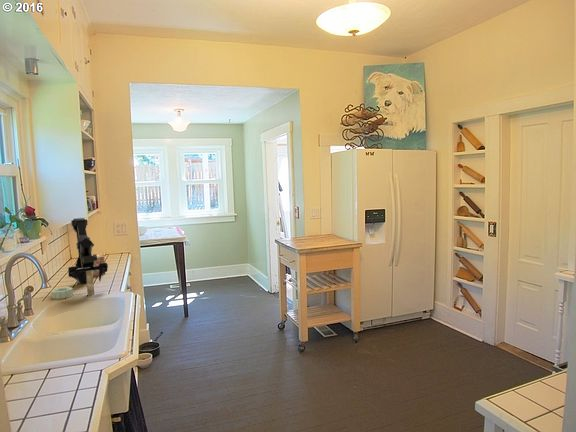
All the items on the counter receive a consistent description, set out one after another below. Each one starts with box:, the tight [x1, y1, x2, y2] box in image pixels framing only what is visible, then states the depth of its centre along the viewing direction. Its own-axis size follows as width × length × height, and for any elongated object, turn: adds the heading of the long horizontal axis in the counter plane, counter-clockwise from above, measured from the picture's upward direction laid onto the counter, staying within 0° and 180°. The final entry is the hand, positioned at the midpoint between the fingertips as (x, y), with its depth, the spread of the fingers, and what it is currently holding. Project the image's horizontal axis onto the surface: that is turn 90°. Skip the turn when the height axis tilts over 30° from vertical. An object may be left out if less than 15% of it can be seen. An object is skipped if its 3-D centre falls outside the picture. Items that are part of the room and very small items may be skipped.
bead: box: [51, 286, 74, 300], centre depth 200 cm, size 9×9×4 cm
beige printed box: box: [92, 254, 106, 277], centre depth 254 cm, size 21×6×12 cm, turn 60°
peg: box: [86, 270, 95, 296], centre depth 202 cm, size 3×3×12 cm
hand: (90, 282), depth 201 cm, fingers open, 9 cm apart
